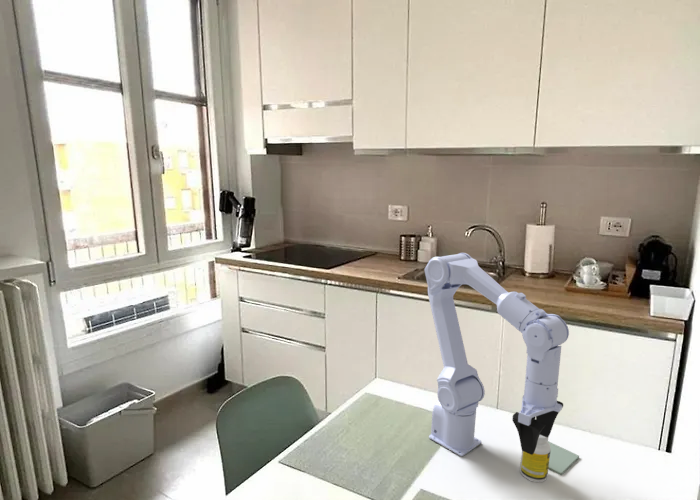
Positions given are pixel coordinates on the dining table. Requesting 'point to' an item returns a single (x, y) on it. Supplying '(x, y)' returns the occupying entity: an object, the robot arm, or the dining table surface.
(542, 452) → the supplement bottle
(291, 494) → the dining table surface
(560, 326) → the robot arm
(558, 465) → the mat
